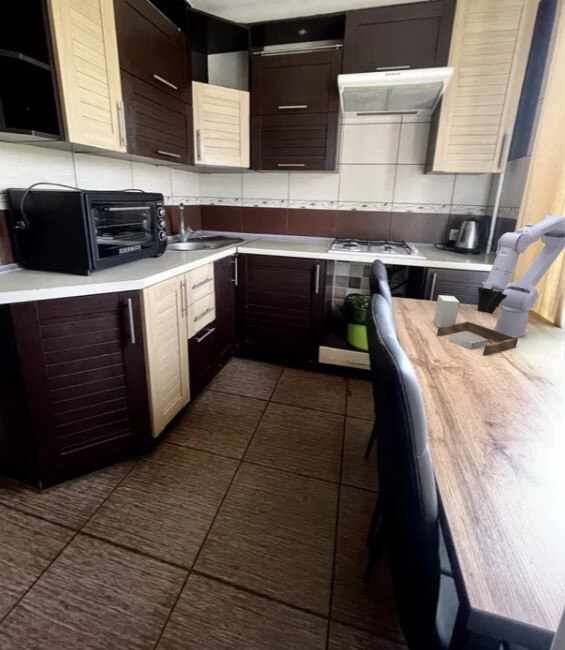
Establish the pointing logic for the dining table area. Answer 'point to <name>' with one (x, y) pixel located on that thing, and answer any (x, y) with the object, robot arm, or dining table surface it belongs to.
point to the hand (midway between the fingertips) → (484, 312)
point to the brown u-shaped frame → (502, 339)
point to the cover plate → (468, 340)
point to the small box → (446, 310)
